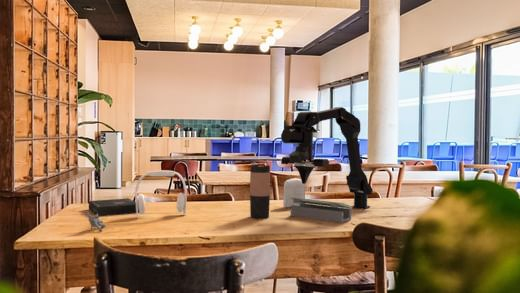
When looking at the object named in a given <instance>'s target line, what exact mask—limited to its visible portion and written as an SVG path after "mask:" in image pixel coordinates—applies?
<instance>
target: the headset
mask: <svg viewBox="0 0 520 293" xmlns="http://www.w3.org/2000/svg"><path fill="white" fill-rule="evenodd" d="M147 175H148V176H149V177H174V176H178V177H179V179H180V180H181V182H182V184H183V190H184V193H182V192H179V193H178V195H177V198H176V210H177V212H178V213H182V212H183V215H184V216H186V211H187V200H188V199H187V198H188V190H187V189H188V188H187V185H186V181H185V179H184V178H183V176H182V174H180V173H179V172H178V171H177V172H176V171H174V170H169V169H168V170H164V169H162V170H150V171H146V172H145V173H143V174H142V175H141V176H140V177H139V178H138V180H137V182H136V186H135V188H134V199H135V200H134V201H135V202H136V213H135V214H136V219H137V220H138V219H139V214H141V215H142V214H144V213H146V212H145V211H146V206H145V205H146V204H145V196H144V194H143V193H139V194H138V190H139V186H140V184H141V182H142V180H143V178H145V177H146V176H147ZM138 209H139V213H138Z"/></svg>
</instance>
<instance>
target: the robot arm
mask: <svg viewBox="0 0 520 293" xmlns="http://www.w3.org/2000/svg"><path fill="white" fill-rule="evenodd" d="M332 119H335V120H334V121H335V123H336V124H337V125H338V126H339V129H340V132H341V135H343V137H344V138H345V140H346V141H345V142H346V150H347V156H348V163H349V173H348V175H346V177H345V178H346V185H347V186H348V189H349V193H352V194H353V204H352V205H351V206H352V209H353V208H354V209H362V210H366V209H368V208H370V207H371V205H368V196H369V195H372V194H373V191H374V189H373V187H372V186H371V185H370V183H369V181H368V177H367V175H366V173H365V172H364V171H363V166H362V161H361V160H362V159H361V152H360V146H359V139H358V137H359V135H360V133H361V121H360V119H359V118H358V117H356V116H355V115H354V114H353V113H351V112H350V111H348V110H347V109H346V108H345V107H343V106H342V107H341V106H340V107H338V106H337V107H333V108H329V109H324V110H319V111H299V112H298V113H297V115H296V118H295V119H294V121H293V122H292V124H291V125H285V126H284V129H283V130H282V132H281V134H280V140H281V141H282V143H283V144H289V145H290V144H292V145H293V144H297V146H295V150H294V151H292V152H291V153H289V155H288V156H283V157H282V158H281V159H280V163H281V165H288V164H290V165H291V164H292V165H293V168H295V169H296V170H297V172H298V174H299V177H300V179H301V180H302V183H303V184H305V185H306V183H307V182H308V179H309V177H310V175H311V173H312V172H313V170H314V169H316V167H319V168H321V167H324V168H325V167H330V161H329V159H328V158H315V156H313V150H315V146H313V144H314V143H313V142H314V141H313V140H314V133H315V134H316V133H318V130H317V129H316V128H315V127H314V126H317V125H318V124H319V123H320V122H323V121H329V120H332Z"/></svg>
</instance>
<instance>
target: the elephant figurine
mask: <svg viewBox="0 0 520 293" xmlns="http://www.w3.org/2000/svg"><path fill="white" fill-rule="evenodd" d="M83 213H84V214H85V215H86V216H87V217H88V222H89V224H90V226H91V227H90V230H92V229H93V228H96V229H97V230H98V231H99V232H100V233H103V230H102V229H103V228H105V227H106V225H107V224H106V223H104V221H103V220H100V217H101V216H98V213H97V215H95V214H94V215H92V214H90V210H88V211H87V210H84V212H83Z"/></svg>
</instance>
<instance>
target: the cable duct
mask: <svg viewBox="0 0 520 293" xmlns="http://www.w3.org/2000/svg"><path fill="white" fill-rule="evenodd" d="M290 216H291V217H296V218H303V219H304V218H305V219H311V220H318V221H325V222H326V221H327V222H331V223H332V222H334V223H339V224H340V223H341V224H343V223H345V222H349V221H350V220H352V209H350V208H341V207H338V208H334V207H330V206H325V205H316V204H308V203H300V206H294V205H292V206H291V207H290Z"/></svg>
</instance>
